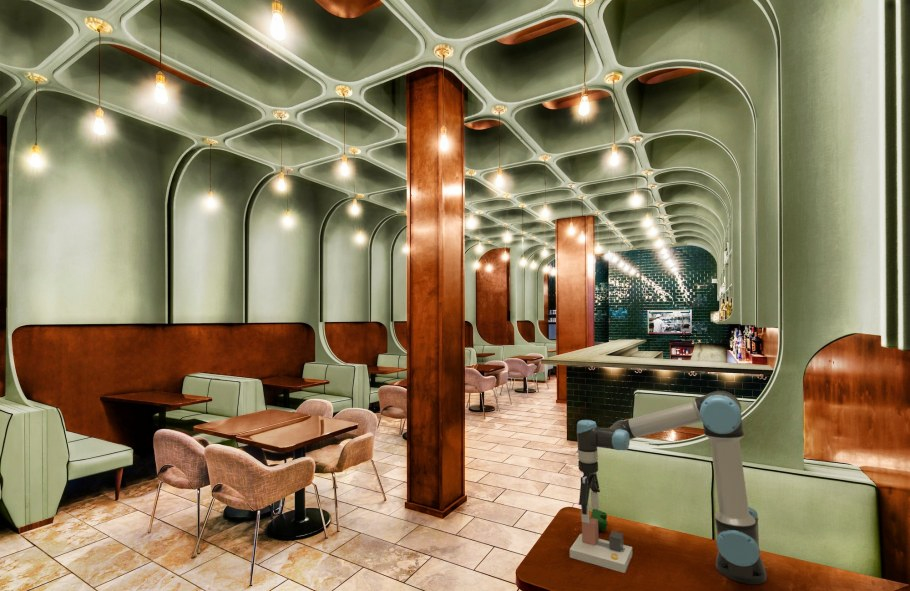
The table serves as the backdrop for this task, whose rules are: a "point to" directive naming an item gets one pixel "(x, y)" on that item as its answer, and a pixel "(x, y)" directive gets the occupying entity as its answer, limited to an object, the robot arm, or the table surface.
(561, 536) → the table surface
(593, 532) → the post
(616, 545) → the breaker toggle
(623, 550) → the block
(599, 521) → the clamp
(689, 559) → the table surface
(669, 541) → the table surface
